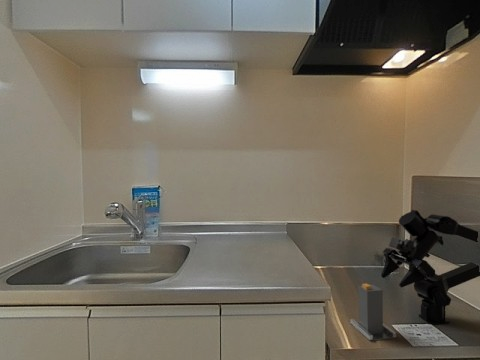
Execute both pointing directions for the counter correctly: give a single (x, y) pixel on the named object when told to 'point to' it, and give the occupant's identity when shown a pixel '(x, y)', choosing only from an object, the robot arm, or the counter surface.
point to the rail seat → (371, 337)
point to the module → (371, 308)
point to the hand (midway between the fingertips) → (390, 281)
